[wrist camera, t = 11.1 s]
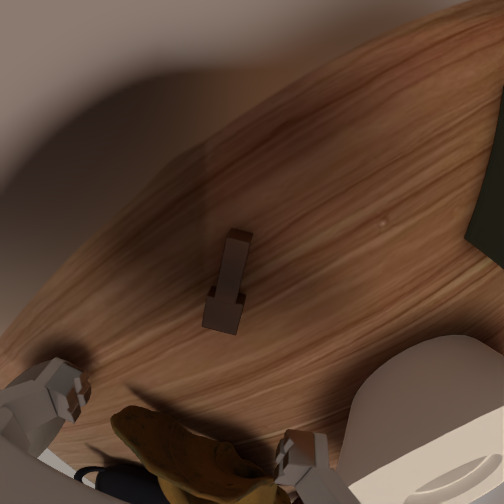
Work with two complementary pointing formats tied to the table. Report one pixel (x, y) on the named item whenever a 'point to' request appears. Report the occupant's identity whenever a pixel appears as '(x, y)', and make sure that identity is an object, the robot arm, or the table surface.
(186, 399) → the table surface
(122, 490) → the teapot
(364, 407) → the bowl
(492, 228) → the cabinet
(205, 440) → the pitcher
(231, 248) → the dark brown stepped post
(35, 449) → the planter
